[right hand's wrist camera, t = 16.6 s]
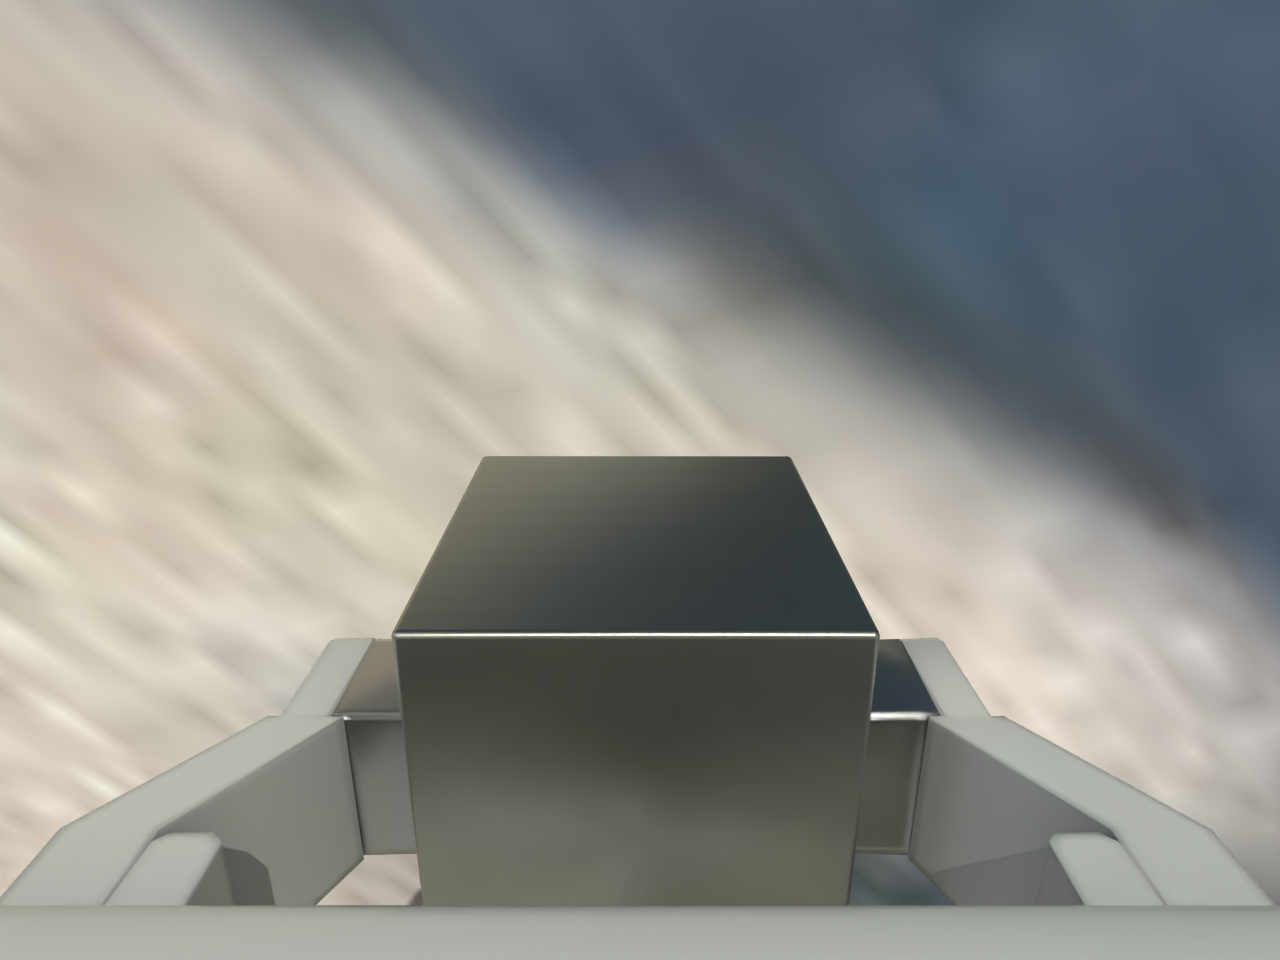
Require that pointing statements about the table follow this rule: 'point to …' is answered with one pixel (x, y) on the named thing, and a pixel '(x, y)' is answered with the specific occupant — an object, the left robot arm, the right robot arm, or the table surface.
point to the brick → (635, 688)
